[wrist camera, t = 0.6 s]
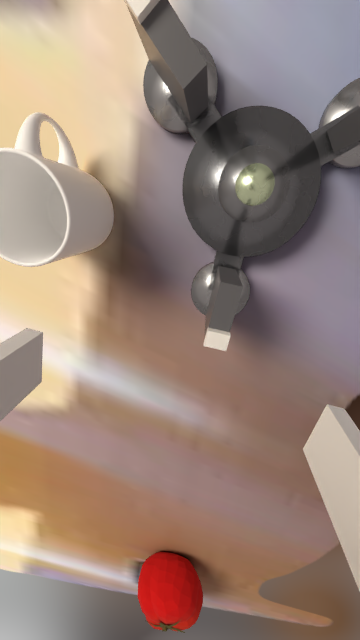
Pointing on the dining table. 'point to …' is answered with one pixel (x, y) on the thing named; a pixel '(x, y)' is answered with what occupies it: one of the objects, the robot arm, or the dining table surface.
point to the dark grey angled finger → (222, 308)
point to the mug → (48, 201)
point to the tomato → (169, 592)
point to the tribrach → (248, 173)
